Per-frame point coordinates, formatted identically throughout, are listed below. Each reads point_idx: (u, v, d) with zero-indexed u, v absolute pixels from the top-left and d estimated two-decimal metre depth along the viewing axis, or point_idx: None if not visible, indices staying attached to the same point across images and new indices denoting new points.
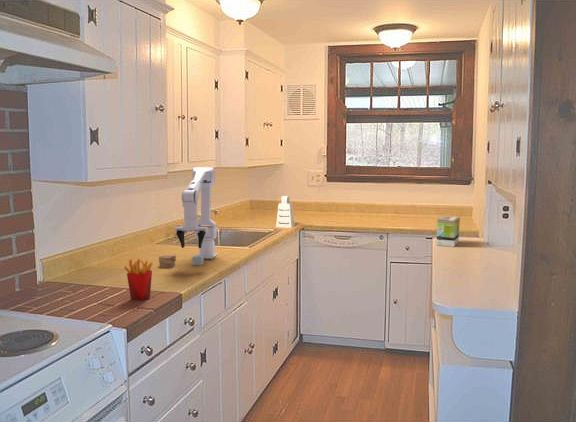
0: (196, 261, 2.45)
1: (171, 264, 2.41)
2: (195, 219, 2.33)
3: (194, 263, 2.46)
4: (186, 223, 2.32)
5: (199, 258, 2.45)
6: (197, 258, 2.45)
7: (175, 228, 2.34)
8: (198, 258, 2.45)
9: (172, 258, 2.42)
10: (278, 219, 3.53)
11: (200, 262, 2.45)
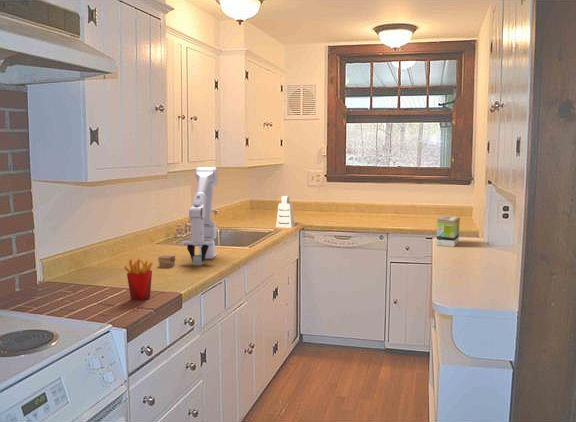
0: (196, 261, 2.45)
1: (171, 264, 2.41)
2: (202, 234, 2.44)
3: (194, 263, 2.46)
4: (193, 238, 2.43)
5: (199, 258, 2.45)
6: (197, 258, 2.45)
7: (183, 242, 2.46)
8: (198, 258, 2.45)
9: (172, 258, 2.42)
10: (278, 219, 3.53)
11: (200, 262, 2.45)
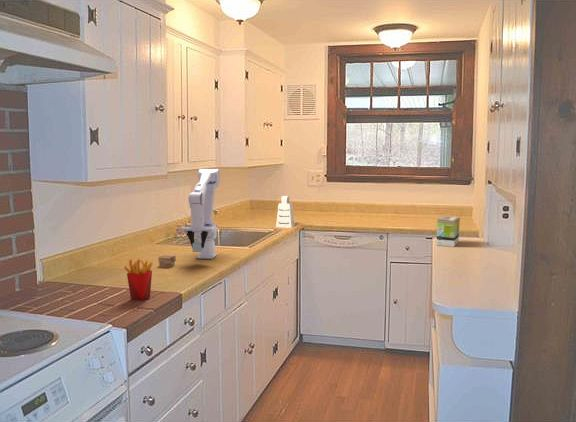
0: (196, 248, 2.44)
1: (171, 264, 2.41)
2: (201, 220, 2.43)
3: (194, 250, 2.45)
4: (193, 224, 2.43)
5: (199, 245, 2.44)
6: (197, 245, 2.44)
7: (182, 229, 2.45)
8: (198, 245, 2.44)
9: (172, 258, 2.42)
10: (278, 219, 3.53)
11: (200, 249, 2.44)
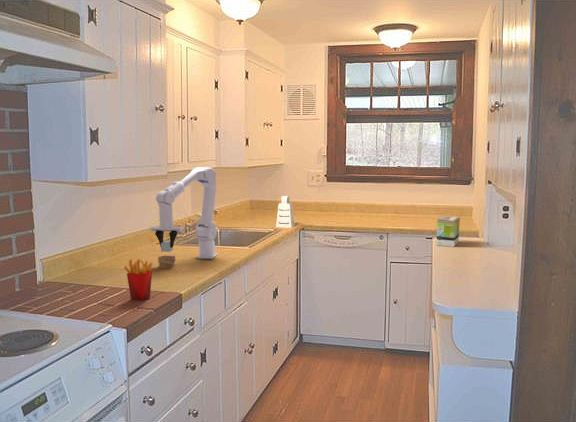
0: (164, 247, 2.40)
1: (171, 264, 2.41)
2: (170, 219, 2.40)
3: (162, 249, 2.41)
4: (161, 223, 2.39)
5: (167, 245, 2.40)
6: (165, 244, 2.40)
7: (151, 228, 2.41)
8: (166, 244, 2.40)
9: (171, 258, 2.42)
10: (278, 219, 3.53)
11: (168, 248, 2.40)
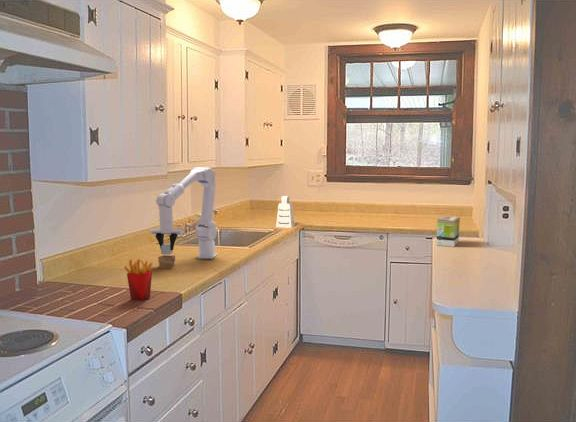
0: (164, 250, 2.41)
1: (171, 264, 2.41)
2: (170, 222, 2.40)
3: (162, 252, 2.41)
4: (161, 226, 2.39)
5: (167, 247, 2.40)
6: (165, 247, 2.40)
7: (151, 231, 2.41)
8: (166, 247, 2.40)
9: (171, 258, 2.43)
10: (278, 219, 3.53)
11: (168, 251, 2.40)
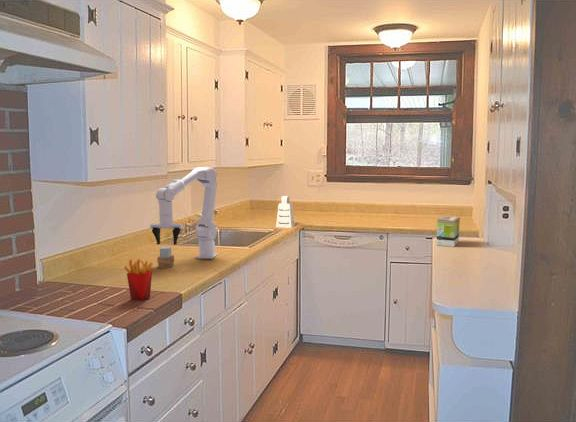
0: (163, 253, 2.41)
1: (170, 264, 2.41)
2: (170, 216, 2.39)
3: (161, 255, 2.41)
4: (161, 220, 2.39)
5: (166, 250, 2.41)
6: (164, 250, 2.41)
7: (151, 225, 2.41)
8: (165, 250, 2.41)
9: (170, 258, 2.42)
10: (278, 219, 3.53)
11: (167, 254, 2.41)
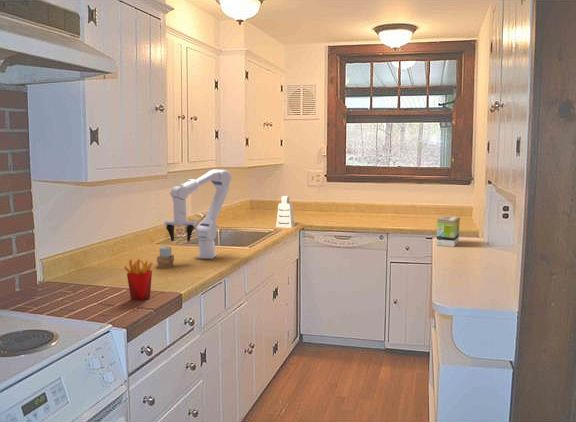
0: (163, 253, 2.41)
1: (169, 264, 2.41)
2: (184, 214, 2.47)
3: (161, 255, 2.41)
4: (175, 218, 2.46)
5: (166, 250, 2.41)
6: (164, 250, 2.41)
7: (165, 222, 2.49)
8: (165, 250, 2.41)
9: (170, 258, 2.42)
10: (278, 219, 3.53)
11: (167, 254, 2.41)
